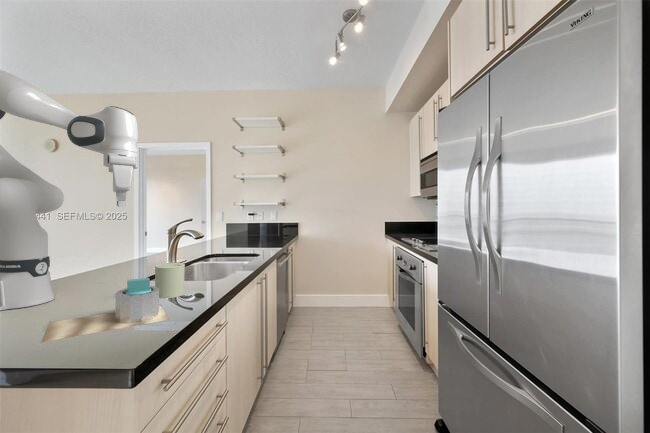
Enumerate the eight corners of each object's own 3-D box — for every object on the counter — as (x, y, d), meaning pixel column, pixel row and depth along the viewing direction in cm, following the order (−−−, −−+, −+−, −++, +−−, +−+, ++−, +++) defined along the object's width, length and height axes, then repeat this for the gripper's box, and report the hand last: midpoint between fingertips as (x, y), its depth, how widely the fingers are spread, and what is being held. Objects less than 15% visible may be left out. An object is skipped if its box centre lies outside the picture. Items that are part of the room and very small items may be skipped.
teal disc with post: (125, 300, 79) (125, 283, 79) (124, 295, 84) (124, 278, 83) (152, 297, 82) (152, 280, 82) (149, 292, 87) (150, 276, 87)
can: (182, 301, 101) (182, 265, 101) (151, 303, 99) (151, 266, 98) (186, 294, 110) (186, 261, 110) (158, 295, 107) (158, 261, 107)
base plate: (41, 348, 66) (41, 342, 66) (50, 327, 78) (50, 322, 78) (168, 325, 81) (169, 319, 81) (160, 310, 92) (160, 305, 92)
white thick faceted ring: (106, 322, 78) (106, 295, 78) (133, 309, 88) (133, 285, 88) (143, 323, 78) (143, 296, 78) (166, 311, 88) (166, 286, 87)
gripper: (108, 164, 100) (107, 206, 101) (109, 156, 84) (109, 206, 84) (130, 166, 104) (130, 206, 104) (136, 158, 88) (135, 206, 88)
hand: (120, 206), depth 94 cm, fingers open, 8 cm apart
